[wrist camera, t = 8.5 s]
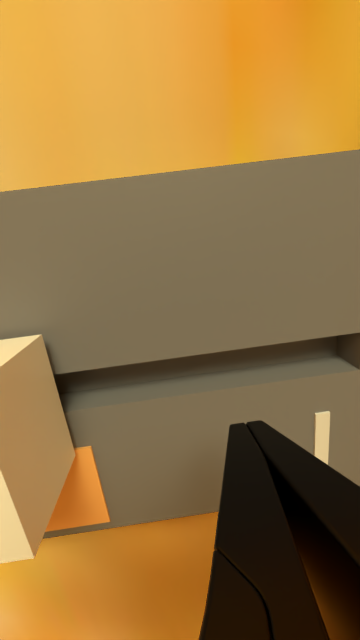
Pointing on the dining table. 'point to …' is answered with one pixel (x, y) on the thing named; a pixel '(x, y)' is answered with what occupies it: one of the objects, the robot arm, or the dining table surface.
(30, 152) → the dining table surface
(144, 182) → the console
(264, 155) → the dining table surface
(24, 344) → the fader
